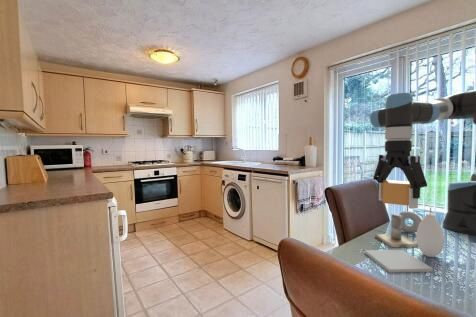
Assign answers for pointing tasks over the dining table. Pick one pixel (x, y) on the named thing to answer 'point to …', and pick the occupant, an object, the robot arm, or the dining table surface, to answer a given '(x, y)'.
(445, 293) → the dining table surface
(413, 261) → the mat
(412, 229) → the donut
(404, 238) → the post stand
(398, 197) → the orange block
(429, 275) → the dining table surface
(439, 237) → the white egg shape
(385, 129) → the robot arm
